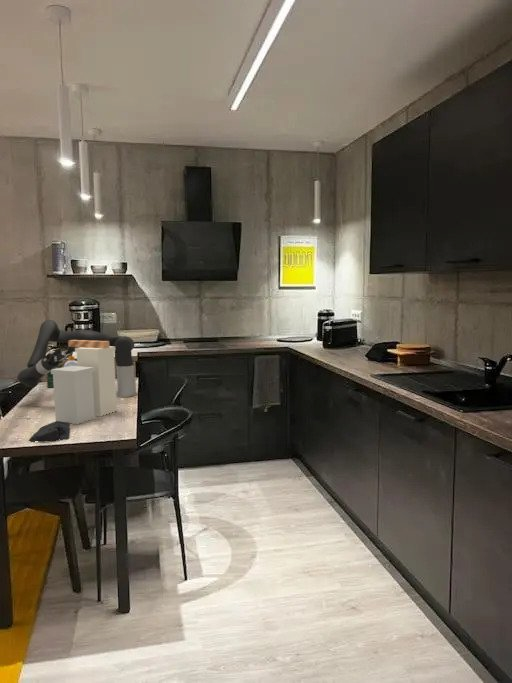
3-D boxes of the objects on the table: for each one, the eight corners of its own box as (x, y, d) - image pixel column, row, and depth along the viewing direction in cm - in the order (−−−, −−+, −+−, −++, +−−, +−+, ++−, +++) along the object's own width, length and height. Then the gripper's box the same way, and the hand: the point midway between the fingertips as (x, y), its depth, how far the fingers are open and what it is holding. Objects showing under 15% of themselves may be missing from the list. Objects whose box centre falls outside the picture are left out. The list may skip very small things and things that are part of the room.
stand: (78, 414, 243) (74, 348, 240) (96, 408, 254) (92, 345, 251) (101, 417, 237) (97, 349, 234) (118, 411, 248) (115, 346, 245)
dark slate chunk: (75, 427, 222) (74, 416, 222) (67, 441, 201) (67, 429, 200) (38, 429, 219) (37, 418, 219) (26, 444, 198) (25, 432, 197)
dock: (54, 421, 230) (50, 369, 227) (73, 415, 241) (71, 365, 238) (77, 424, 224) (74, 371, 221) (96, 418, 235) (93, 367, 232)
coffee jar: (46, 388, 310) (44, 358, 309) (48, 386, 318) (46, 357, 316) (63, 387, 313) (61, 357, 311) (64, 385, 321) (62, 356, 319)
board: (68, 346, 247) (68, 340, 247) (74, 345, 251) (74, 339, 250) (103, 348, 238) (103, 341, 237) (109, 347, 241) (109, 341, 241)
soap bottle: (65, 391, 300) (62, 353, 298) (65, 389, 307) (63, 351, 305) (81, 390, 303) (78, 352, 301) (81, 388, 310) (79, 351, 308)
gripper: (32, 359, 251) (52, 344, 244) (55, 356, 264) (74, 341, 257) (39, 373, 250) (59, 357, 243) (61, 368, 263) (80, 354, 256)
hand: (67, 349), depth 250 cm, fingers open, 8 cm apart
